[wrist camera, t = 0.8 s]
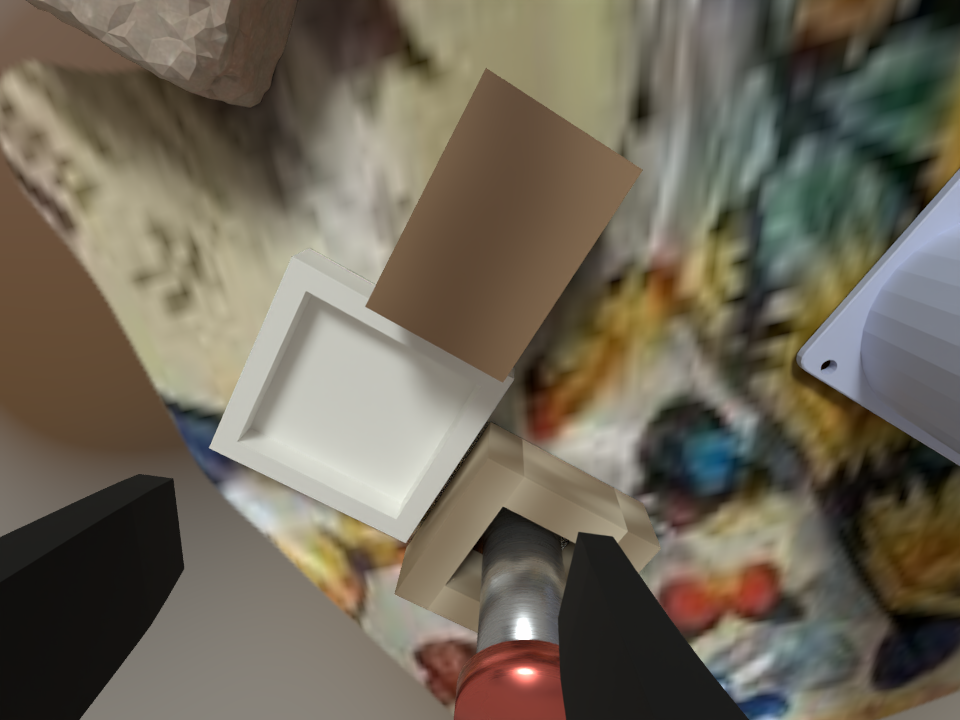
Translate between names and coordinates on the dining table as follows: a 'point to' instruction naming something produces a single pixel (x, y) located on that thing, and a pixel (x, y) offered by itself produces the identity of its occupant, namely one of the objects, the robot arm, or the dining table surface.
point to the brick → (190, 40)
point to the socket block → (526, 491)
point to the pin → (516, 626)
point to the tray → (352, 402)
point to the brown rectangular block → (500, 228)
